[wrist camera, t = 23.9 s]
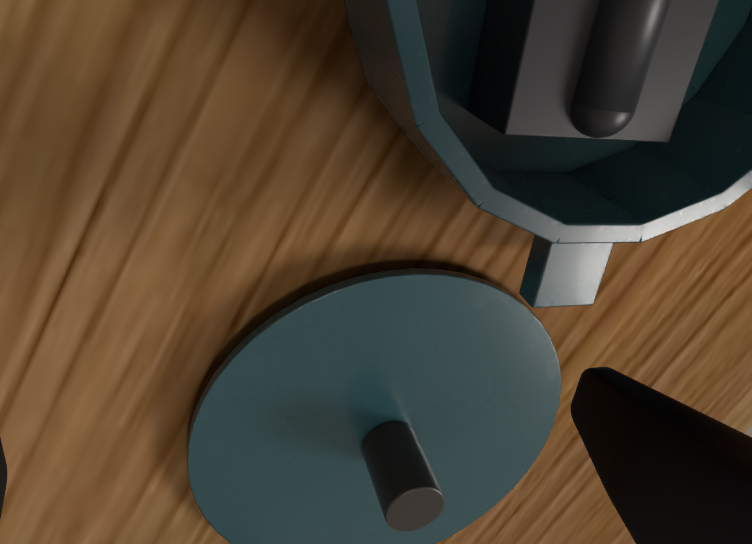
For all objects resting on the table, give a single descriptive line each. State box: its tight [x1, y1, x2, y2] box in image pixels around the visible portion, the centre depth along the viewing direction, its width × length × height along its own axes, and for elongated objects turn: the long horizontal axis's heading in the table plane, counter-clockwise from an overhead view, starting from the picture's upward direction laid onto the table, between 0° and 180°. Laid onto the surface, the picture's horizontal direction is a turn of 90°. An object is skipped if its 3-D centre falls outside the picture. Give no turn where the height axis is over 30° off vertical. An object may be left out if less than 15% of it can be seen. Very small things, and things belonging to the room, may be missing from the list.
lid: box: [187, 268, 561, 544], centre depth 25 cm, size 16×16×5 cm
